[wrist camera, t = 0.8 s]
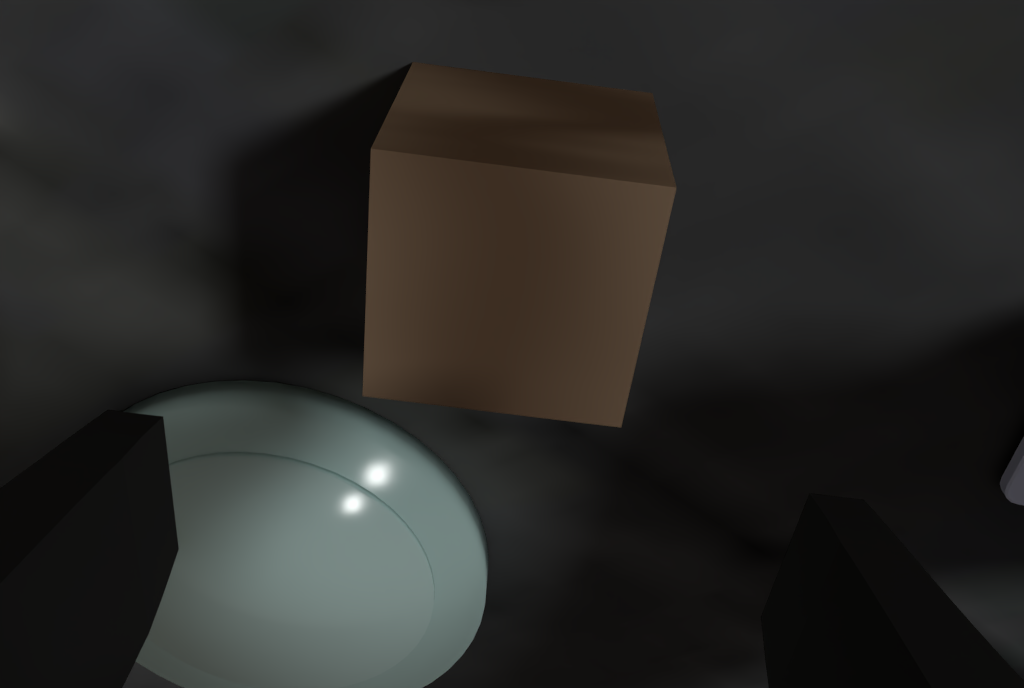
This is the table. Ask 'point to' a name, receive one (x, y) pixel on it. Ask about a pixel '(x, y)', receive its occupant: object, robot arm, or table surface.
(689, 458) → the table surface
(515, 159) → the block
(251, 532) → the dish
